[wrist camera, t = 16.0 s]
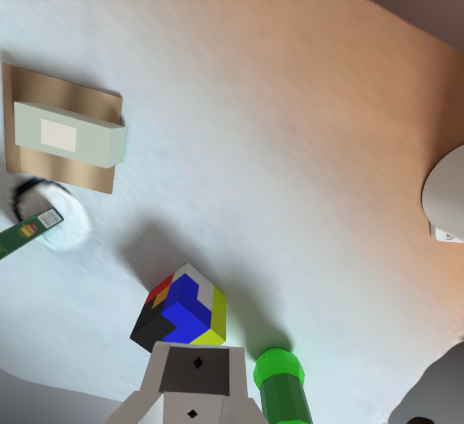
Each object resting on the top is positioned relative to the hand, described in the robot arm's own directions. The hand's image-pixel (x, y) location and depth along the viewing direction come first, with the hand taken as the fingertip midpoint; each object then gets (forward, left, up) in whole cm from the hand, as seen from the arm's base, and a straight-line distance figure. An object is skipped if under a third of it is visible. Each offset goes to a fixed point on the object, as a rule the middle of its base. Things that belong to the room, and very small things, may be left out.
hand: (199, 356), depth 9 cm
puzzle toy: (0, +24, -31) cm, 40 cm away
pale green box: (+14, 0, -28) cm, 31 cm away
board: (+22, +1, -31) cm, 38 cm away
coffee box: (+26, +16, -31) cm, 44 cm away
